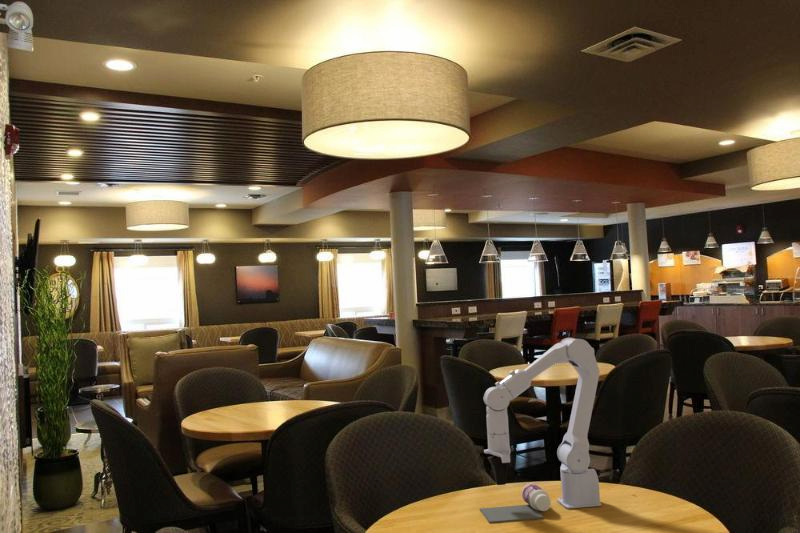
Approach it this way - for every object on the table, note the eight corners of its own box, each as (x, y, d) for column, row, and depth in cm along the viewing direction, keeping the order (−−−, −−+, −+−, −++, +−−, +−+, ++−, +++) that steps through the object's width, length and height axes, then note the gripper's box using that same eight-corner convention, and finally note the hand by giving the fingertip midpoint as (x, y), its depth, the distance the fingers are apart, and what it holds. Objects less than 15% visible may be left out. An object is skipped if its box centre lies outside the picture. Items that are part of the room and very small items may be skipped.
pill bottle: (523, 480, 180) (536, 490, 171) (541, 485, 181) (555, 494, 171) (518, 500, 180) (531, 511, 170) (537, 505, 180) (550, 515, 171)
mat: (530, 505, 179) (530, 504, 179) (544, 518, 168) (544, 516, 168) (479, 510, 177) (479, 508, 177) (489, 523, 166) (489, 521, 166)
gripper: (477, 428, 185) (480, 478, 184) (489, 438, 171) (492, 492, 170) (502, 427, 186) (504, 476, 185) (516, 437, 172) (519, 490, 171)
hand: (500, 484), depth 178 cm, fingers closed
